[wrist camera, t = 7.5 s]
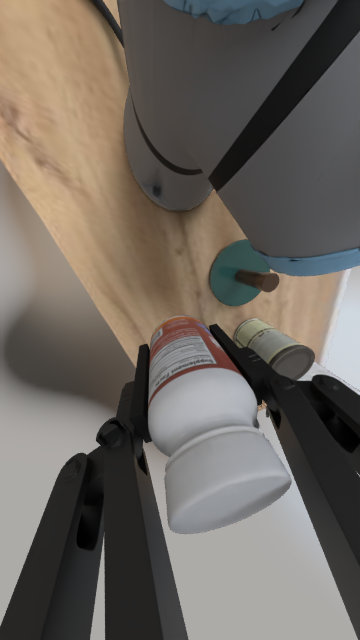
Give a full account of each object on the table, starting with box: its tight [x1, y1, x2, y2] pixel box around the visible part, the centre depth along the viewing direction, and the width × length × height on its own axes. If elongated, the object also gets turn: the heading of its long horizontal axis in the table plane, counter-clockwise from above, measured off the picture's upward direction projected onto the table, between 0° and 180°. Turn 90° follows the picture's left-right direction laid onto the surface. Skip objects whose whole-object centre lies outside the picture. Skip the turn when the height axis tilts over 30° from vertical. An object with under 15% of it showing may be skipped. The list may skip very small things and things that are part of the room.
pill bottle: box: [148, 315, 291, 534], centre depth 10 cm, size 6×6×11 cm
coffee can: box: [234, 318, 315, 381], centre depth 35 cm, size 10×10×14 cm
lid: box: [210, 240, 279, 306], centre depth 28 cm, size 15×15×10 cm
